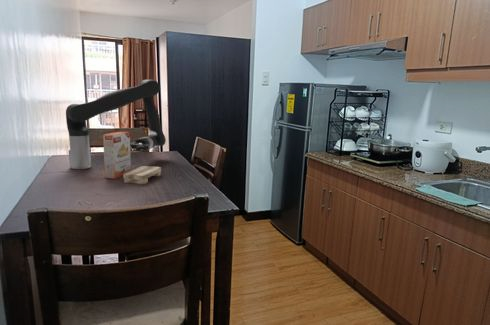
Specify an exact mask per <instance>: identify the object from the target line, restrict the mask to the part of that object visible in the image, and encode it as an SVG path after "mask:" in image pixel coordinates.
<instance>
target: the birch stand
mask: <svg viewBox="0 0 490 325" xmlns="http://www.w3.org/2000/svg"><path fill="white" fill-rule="evenodd" d="M161 175H162V167H161V166H152V165H140V166H138V167H136V168H134V169H131V171H129V172H127V173H125V174H123V176H122V178H123V182H124V183H125V184H126V183H127V184H129V183H131V184H138V185H146V184H147V183H149V181H148V180H149V178H151V177H160V176H161Z"/></svg>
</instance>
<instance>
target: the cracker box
mask: <svg viewBox="0 0 490 325" xmlns="http://www.w3.org/2000/svg"><path fill="white" fill-rule="evenodd" d="M102 141H103V161H104V162H103V163H104V164H103V165H104V178H105V179H112V180H113V179H114V180H116V179H118V178H121V177H123V174H125V173H127V172H129V171H131V170H132V169H131V168H132V166H131V164H132V163H131V160H132V159H131V150H130V148H131V146H130V143H131V133H130V132H129V131H117V132H116V131H115V132H111V133H105V134H103V135H102Z"/></svg>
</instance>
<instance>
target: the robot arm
mask: <svg viewBox="0 0 490 325" xmlns="http://www.w3.org/2000/svg"><path fill="white" fill-rule="evenodd" d="M160 90H161V85H160V83H159V82H158V81H157V80H154V79H143V80H142V81H141V82H140V84H139V85H136V86H131V87H123V88H120V89H117V90H113V91H110V92H107V93H105V94H104V95H101V96H99V97H98V98H96V99H95V100H92V101H88V102H84V103H70V104H69V105H68V106H67V107H66V109H65V119H66V128H67V130H68V139H69V140H68V141H69V149H68V160H69V161H68V163H69V169H74V170H84V169H85V170H86V169H91V167H92V162H91V161H92V160H91V150H90V132H89V129H88V126H87V121H88V120H90V119H92V118H94V117H97V116H98V115H101V114H104V113H108V112H111V111H114V110H117V109H121V108H123V107H126V106H128V105H130V104H133V103H134V102H136V101H140V100H143V104H144V107H145V111H146V112H145V113H146V118H147V124H148V130H149V131H151V132H154V133H155V134H149V135H148V136H143V137H139V138H137V139H135V141H134V142H130V151H131V150H134V151H135V152H139V153H142V152H147V151H148V150H151V149H153V148H155V147H162V146H164V145H166V140H167V139H166V136H165V134H164V131H163V129H162V125H161V118H160V115H159V112H158V109H157V107H156V104H155V98H154V97H155V96H156V95H158V94H159V93H160Z"/></svg>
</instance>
